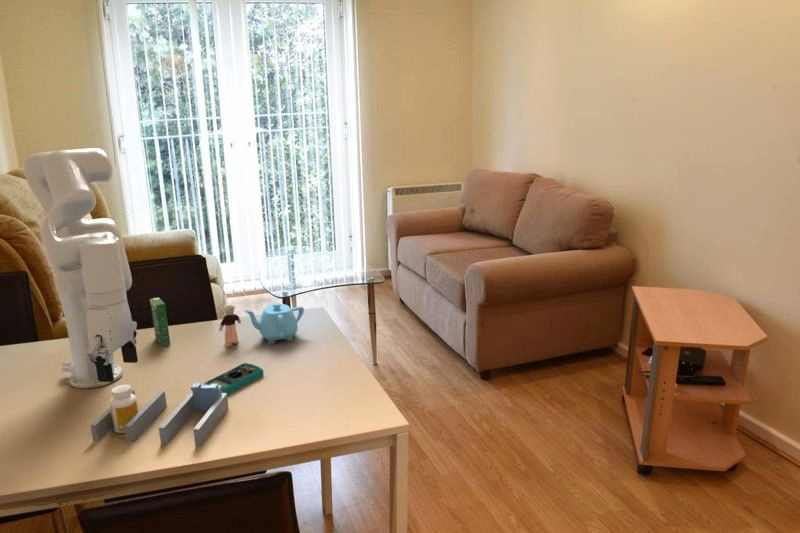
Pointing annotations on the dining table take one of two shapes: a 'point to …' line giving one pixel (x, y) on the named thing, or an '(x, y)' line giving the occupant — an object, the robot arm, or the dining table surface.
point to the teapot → (277, 322)
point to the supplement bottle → (122, 407)
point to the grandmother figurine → (230, 325)
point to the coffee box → (160, 321)
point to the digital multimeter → (237, 377)
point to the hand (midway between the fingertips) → (119, 371)
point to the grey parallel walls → (196, 400)
